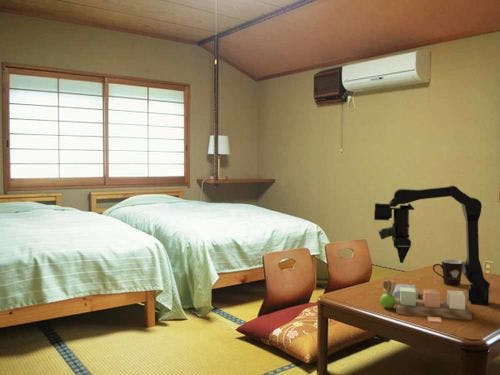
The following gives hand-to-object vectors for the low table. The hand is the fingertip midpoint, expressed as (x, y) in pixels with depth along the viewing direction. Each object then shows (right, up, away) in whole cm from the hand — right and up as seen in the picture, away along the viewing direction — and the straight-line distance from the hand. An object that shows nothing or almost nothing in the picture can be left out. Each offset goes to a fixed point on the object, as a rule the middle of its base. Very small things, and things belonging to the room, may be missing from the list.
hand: (400, 260), depth 176 cm
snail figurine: (-9, -16, -13) cm, 22 cm away
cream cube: (+13, -13, -19) cm, 27 cm away
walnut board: (+5, -16, -17) cm, 24 cm away
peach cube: (+5, -13, -17) cm, 22 cm away
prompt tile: (+3, -16, -26) cm, 30 cm away
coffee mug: (+27, -14, +19) cm, 36 cm away
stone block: (+2, -15, +2) cm, 15 cm away
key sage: (-3, -13, -15) cm, 20 cm away
